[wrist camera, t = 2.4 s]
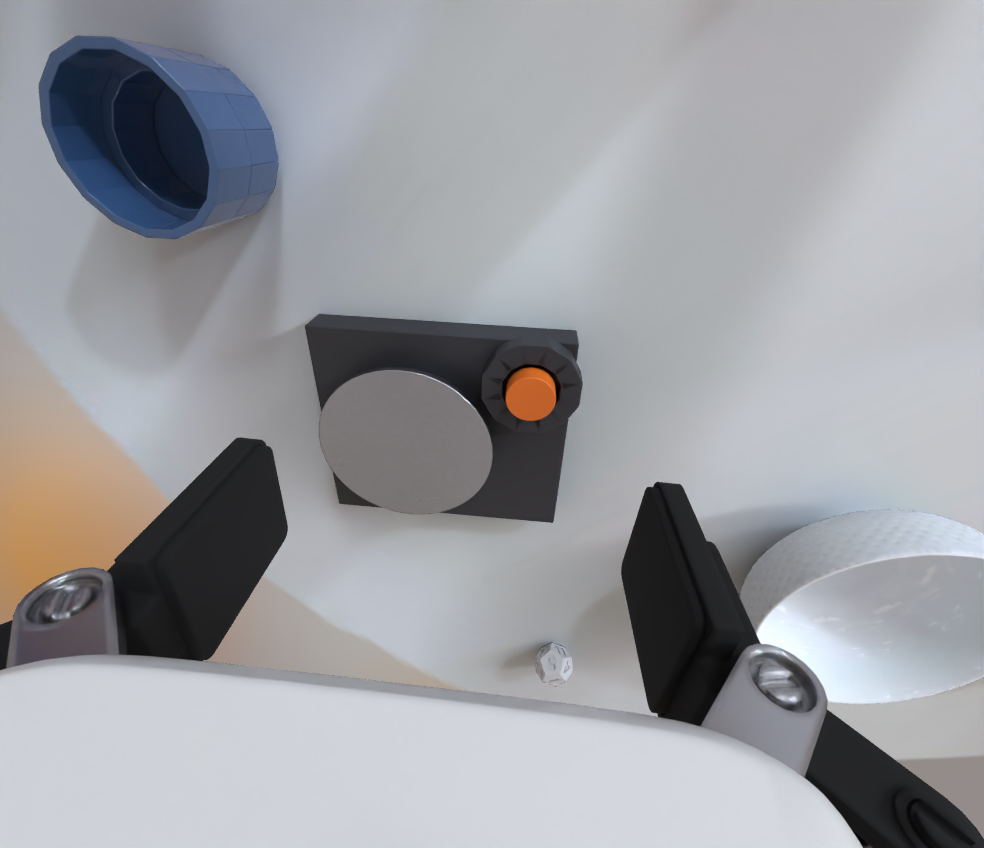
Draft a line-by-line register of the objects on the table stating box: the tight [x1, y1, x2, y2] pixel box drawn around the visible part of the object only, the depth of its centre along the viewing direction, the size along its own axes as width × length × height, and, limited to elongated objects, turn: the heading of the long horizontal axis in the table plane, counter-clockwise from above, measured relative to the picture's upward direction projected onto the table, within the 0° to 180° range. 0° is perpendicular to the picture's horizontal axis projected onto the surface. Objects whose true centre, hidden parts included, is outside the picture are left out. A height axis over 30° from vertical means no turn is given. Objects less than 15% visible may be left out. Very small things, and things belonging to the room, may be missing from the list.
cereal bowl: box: [740, 509, 984, 704], centre depth 33 cm, size 17×17×7 cm
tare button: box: [505, 367, 556, 421], centre depth 26 cm, size 3×3×1 cm
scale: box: [305, 314, 582, 523], centre depth 31 cm, size 16×14×4 cm
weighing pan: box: [319, 367, 493, 514], centre depth 29 cm, size 11×11×1 cm
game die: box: [534, 643, 573, 687], centre depth 45 cm, size 4×4×3 cm
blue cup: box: [39, 36, 278, 239], centre depth 22 cm, size 7×7×6 cm
